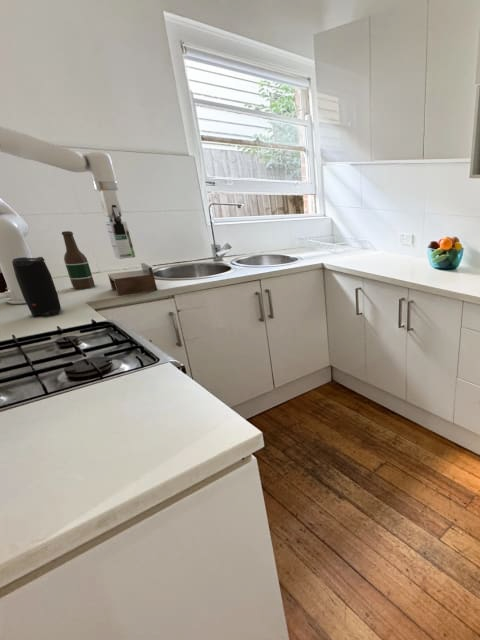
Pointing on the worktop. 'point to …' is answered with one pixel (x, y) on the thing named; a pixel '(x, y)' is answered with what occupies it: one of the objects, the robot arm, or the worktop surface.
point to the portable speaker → (37, 286)
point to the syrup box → (120, 242)
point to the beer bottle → (76, 264)
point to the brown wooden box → (133, 281)
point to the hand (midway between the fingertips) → (118, 233)
